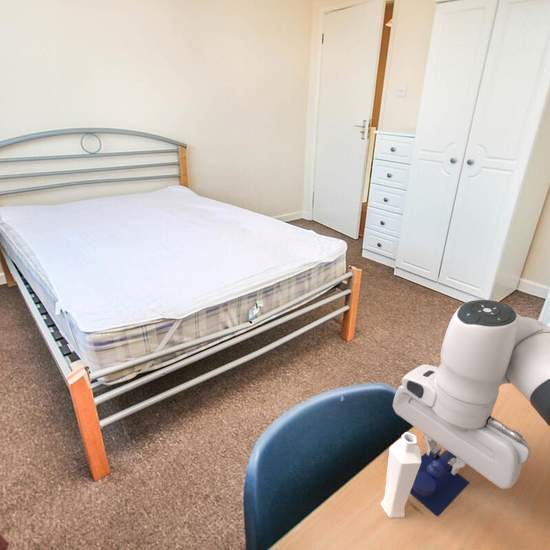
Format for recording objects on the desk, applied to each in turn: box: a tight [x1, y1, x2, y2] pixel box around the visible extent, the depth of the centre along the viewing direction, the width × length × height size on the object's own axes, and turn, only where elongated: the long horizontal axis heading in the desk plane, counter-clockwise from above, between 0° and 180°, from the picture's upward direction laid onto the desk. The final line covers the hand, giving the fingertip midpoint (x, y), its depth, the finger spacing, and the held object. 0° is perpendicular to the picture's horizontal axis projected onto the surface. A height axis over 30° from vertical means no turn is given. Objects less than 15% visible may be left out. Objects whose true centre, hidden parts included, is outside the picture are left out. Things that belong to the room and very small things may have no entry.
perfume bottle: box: [380, 431, 422, 519], centre depth 58 cm, size 5×4×15 cm
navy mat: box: [409, 451, 470, 518], centre depth 65 cm, size 10×8×1 cm
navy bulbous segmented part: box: [412, 449, 457, 496], centre depth 64 cm, size 11×4×2 cm, turn 128°
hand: (441, 462), depth 65 cm, fingers closed on navy bulbous segmented part, 2 cm apart
